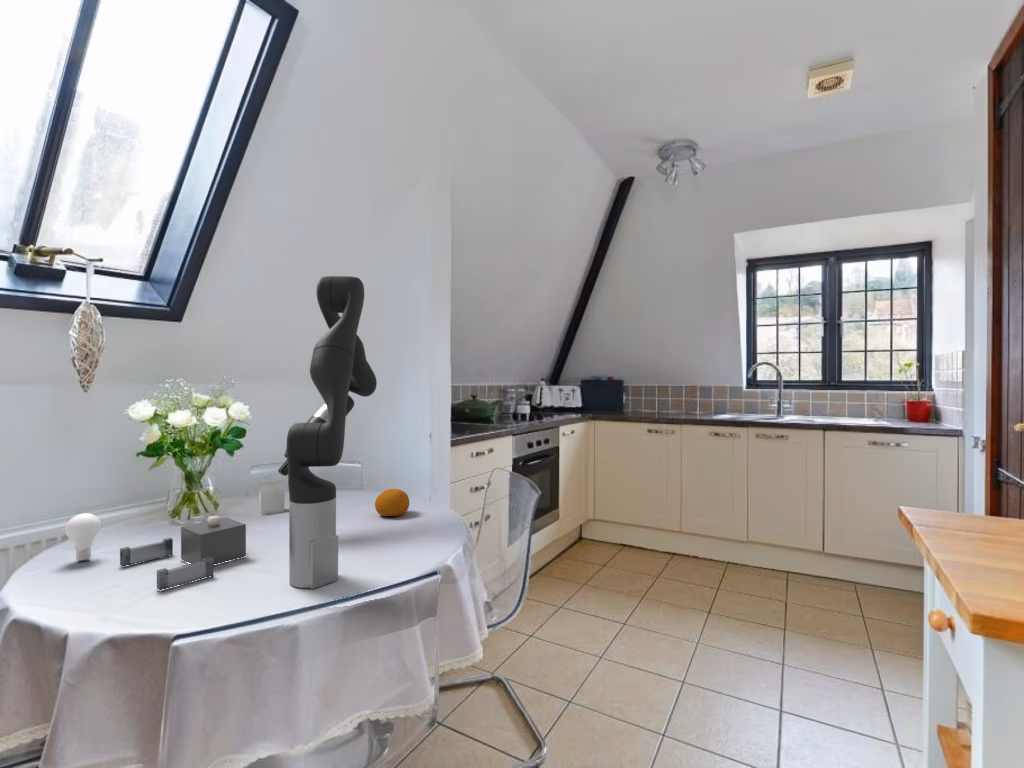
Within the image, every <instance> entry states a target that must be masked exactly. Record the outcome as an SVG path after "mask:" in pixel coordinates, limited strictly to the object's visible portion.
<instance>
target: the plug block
mask: <svg viewBox="0 0 1024 768" xmlns="http://www.w3.org/2000/svg"><path fill="white" fill-rule="evenodd" d="M246 531H247V524H246V523H243V522H240V521H238V520H234V519H232V518H228V517H220V516H219V515H211V516H207V521H203V522H202V521H201V522H197V523H193V524H189V525H184V526H183V525H182V526H180V553H181V554H180V560H181V559H182V560H184V561H186V562H189V563H191V564H192V563H196V562H200V561H203V558H206V557H212V558H213V565H214V564H218V563H222V562H225V561H229V560H233V559H237V558H241V557H244V556H246V557H247V545H246V544H247V533H246ZM241 559H242V558H241ZM184 561H183V562H184ZM186 562H185V563H186Z"/></svg>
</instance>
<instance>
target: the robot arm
mask: <svg viewBox="0 0 1024 768" xmlns="http://www.w3.org/2000/svg"><path fill="white" fill-rule="evenodd" d="M316 300H317V304H318V307H319V309H320V311H321V314H322V316H323V318H324V321H325V323H326V325H327V328H328V330H326V332H325V333H324V334H323V335H322V336H321V337H320V338H319V339H318V340H317V342H316V343H315V344H314V347H313V349H312V356H311V361H310V364H309V365H310V366H309V375H310V378H311V380H312V383H313V384H314V386H315V388H316V389H317V391H318V393H319V394H320V396H321V398H322V400H323V401H324V403H323V404H322V405H320V407H319V408H317V410H316V411H315V412H314V413H313V414H312V416H310V418H309V419H308V420H307V421H306V422H296V423H293V424H292V425H291V426H290V428H289V430H288V432H287V435H286V436H287V437H286V448H285V451H284V455H283V456H284V457H285V459H286V460H285V461H284V462H283V464H282V465H281V466H280V467H279V468H278V470H277V472H278V473H279V474H280V475H281V476H284V477H285V476H287V483H288V484H287V485H288V494H289V495H288V497H289V502H288V503H289V508H288V509H289V514H288V515H289V520H288V521H289V523H288V524H289V529H288V530H289V531H288V533H289V536H288V538H289V539H288V540H289V542H288V545H289V546H288V547H289V549H288V550H289V555H288V558H289V560H288V561H289V562H288V565H289V566H288V567H289V568H288V570H289V571H288V572H289V573H288V574H289V578H288V579H289V581H288V582H289V584H290V586H292V587H295V588H303V589H307V588H308V589H311V590H314V589H317V588H319V587H322V586H324V585H327V584H330V583H333V582H336V581H338V580H339V536H338V534H337V487H336V484H335V483H334V482H332V481H330V480H326V479H324V478H322V477H319V476H318V475H316V474H314V473H313V472H312V471H311V469H310V468H312V467H314V468H316V467H318V468H321V467H335V466H337V465H339V463H340V462H341V460H342V457H343V453H344V445H345V435H346V419H347V416H348V415H349V413H350V412H351V411H352V410H353V408H354V406H355V401H354V398H352V397H351V396H350V394H349V392H350V393H353V394H355V395H358V396H360V397H365V398H366V397H370V396H371V395H373V394H374V393H375V391H376V389H377V384H378V383H377V376H376V375H375V372H374V371H373V369H372V367H371V365H370V363H369V362H368V361H367V356H366V352H365V351H366V350H365V345H364V343H363V341H362V339H361V338H360V336H358V335H359V334H358V328H359V324H360V320H361V315H362V312H363V307H364V302H365V301H364V300H365V286H364V283H363V281H362V279H360V278H359V277H356V276H351V275H350V276H348V275H347V276H345V275H344V276H341V275H340V276H339V275H337V276H336V275H330V276H327V275H326V276H321V277H320V278H319V279H318V281H317V283H316ZM340 314H341V315H340Z"/></svg>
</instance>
